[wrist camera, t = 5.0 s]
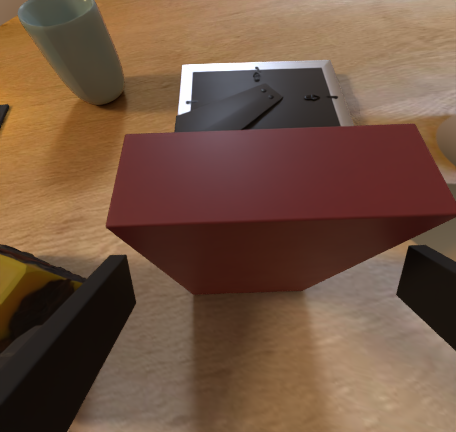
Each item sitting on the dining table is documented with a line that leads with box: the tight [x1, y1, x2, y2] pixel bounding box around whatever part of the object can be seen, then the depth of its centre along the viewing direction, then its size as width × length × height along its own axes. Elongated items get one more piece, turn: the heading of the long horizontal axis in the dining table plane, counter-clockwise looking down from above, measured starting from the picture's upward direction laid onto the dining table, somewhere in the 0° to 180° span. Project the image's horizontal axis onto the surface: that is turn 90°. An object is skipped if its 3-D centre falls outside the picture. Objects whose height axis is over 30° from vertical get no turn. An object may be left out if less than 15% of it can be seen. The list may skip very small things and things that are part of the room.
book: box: [106, 124, 456, 295], centre depth 14 cm, size 10×4×16 cm, turn 92°
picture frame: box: [175, 60, 354, 132], centre depth 29 cm, size 16×3×21 cm
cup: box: [18, 0, 125, 105], centre depth 28 cm, size 8×8×10 cm
